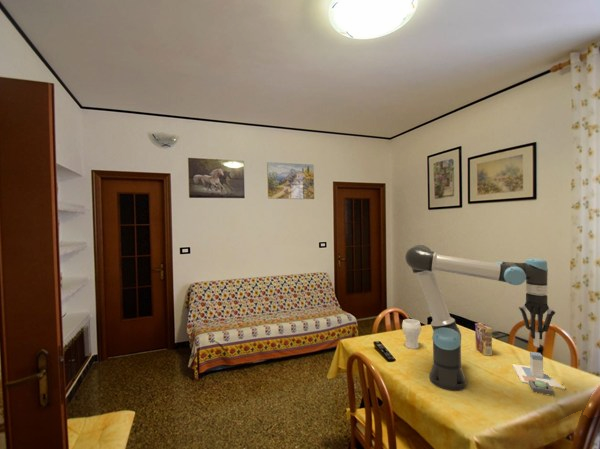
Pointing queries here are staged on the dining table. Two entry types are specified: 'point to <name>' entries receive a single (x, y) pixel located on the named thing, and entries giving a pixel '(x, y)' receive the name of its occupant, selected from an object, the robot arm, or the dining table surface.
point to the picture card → (526, 376)
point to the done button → (540, 384)
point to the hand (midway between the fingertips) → (536, 345)
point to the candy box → (483, 339)
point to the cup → (411, 332)
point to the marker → (536, 364)
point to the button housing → (541, 390)
